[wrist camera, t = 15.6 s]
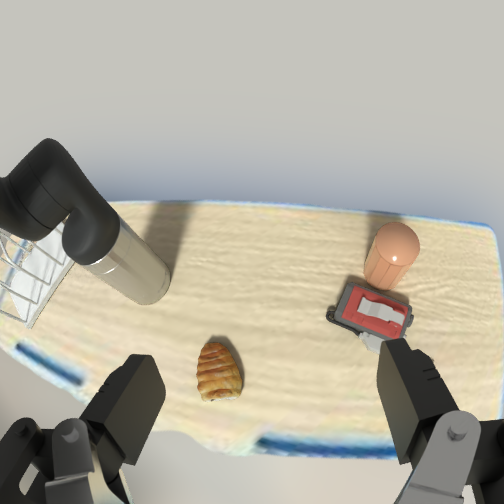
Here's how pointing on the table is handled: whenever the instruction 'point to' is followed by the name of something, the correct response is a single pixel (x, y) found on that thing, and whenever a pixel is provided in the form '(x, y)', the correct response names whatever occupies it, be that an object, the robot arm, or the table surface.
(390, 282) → the cup
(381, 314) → the walkie-talkie
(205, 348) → the pastry
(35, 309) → the file sorter
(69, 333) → the table surface
